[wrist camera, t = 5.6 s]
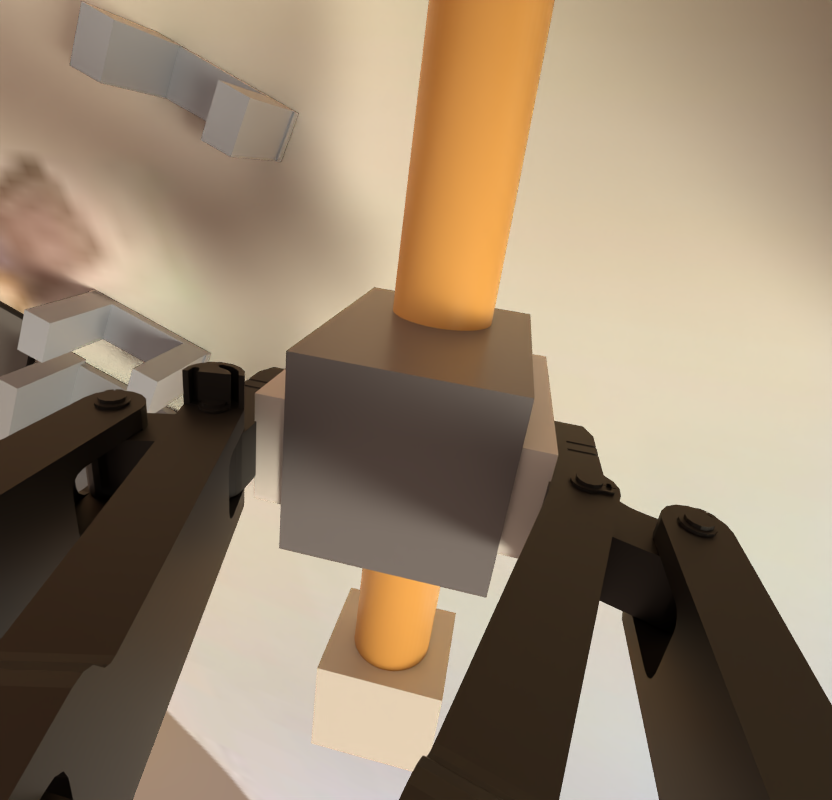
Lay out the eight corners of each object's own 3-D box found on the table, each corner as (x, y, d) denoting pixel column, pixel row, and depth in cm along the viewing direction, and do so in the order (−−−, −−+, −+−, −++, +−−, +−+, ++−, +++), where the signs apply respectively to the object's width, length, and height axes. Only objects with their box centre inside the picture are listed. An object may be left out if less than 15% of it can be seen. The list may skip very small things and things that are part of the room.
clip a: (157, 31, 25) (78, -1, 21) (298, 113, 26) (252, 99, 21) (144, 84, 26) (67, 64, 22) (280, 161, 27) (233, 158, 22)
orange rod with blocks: (409, -61, 14) (308, -274, 7) (609, -42, 13) (693, -256, 7) (337, 655, 24) (269, 829, 17) (447, 683, 23) (418, 874, 17)
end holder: (68, 350, 33) (-3, 377, 28) (198, 420, 33) (148, 459, 29) (51, 422, 35) (-17, 458, 31) (173, 487, 36) (123, 533, 31)
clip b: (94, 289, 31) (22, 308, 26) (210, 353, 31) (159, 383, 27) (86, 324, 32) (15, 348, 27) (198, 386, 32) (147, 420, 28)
